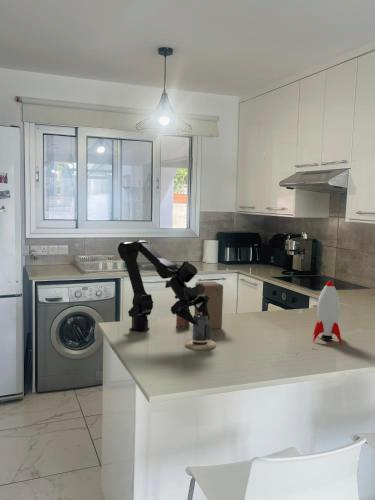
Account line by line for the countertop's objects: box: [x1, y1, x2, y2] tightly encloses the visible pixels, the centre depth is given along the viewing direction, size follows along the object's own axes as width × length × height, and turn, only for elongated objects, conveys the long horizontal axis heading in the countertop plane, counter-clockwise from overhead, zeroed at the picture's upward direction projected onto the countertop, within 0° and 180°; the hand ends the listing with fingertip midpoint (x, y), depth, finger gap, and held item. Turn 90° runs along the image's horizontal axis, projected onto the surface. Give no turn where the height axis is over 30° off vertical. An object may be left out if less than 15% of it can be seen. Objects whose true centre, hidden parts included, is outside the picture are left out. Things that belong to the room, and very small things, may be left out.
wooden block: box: [194, 281, 224, 330], centre depth 204 cm, size 10×10×20 cm
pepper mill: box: [191, 312, 212, 345], centre depth 175 cm, size 8×6×12 cm
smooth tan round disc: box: [184, 338, 217, 351], centre depth 176 cm, size 12×12×1 cm
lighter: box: [175, 308, 191, 330], centre depth 203 cm, size 8×3×10 cm, turn 141°
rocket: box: [312, 280, 343, 346], centre depth 187 cm, size 11×11×25 cm
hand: (202, 321), depth 175 cm, fingers open, 9 cm apart
